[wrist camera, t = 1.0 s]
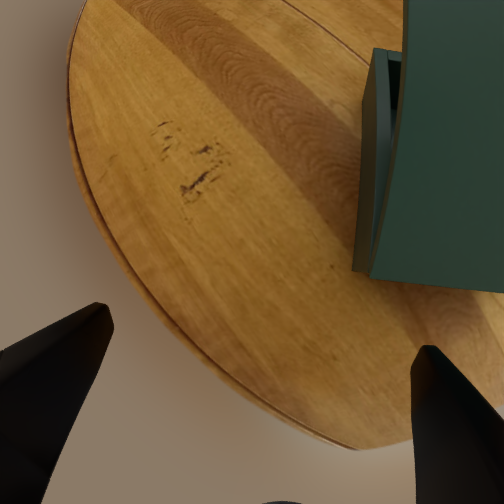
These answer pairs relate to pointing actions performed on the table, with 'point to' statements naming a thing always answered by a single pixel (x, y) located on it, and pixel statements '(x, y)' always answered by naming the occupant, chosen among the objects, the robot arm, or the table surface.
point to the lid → (447, 151)
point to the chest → (375, 149)
